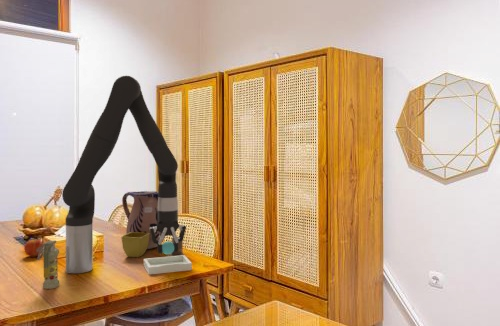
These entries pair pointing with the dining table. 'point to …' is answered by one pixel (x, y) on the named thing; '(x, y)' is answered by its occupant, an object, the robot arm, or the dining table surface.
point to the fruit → (33, 247)
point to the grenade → (49, 264)
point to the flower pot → (135, 243)
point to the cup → (180, 249)
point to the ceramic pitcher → (142, 213)
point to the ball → (167, 247)
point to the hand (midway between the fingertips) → (167, 252)
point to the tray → (167, 264)
